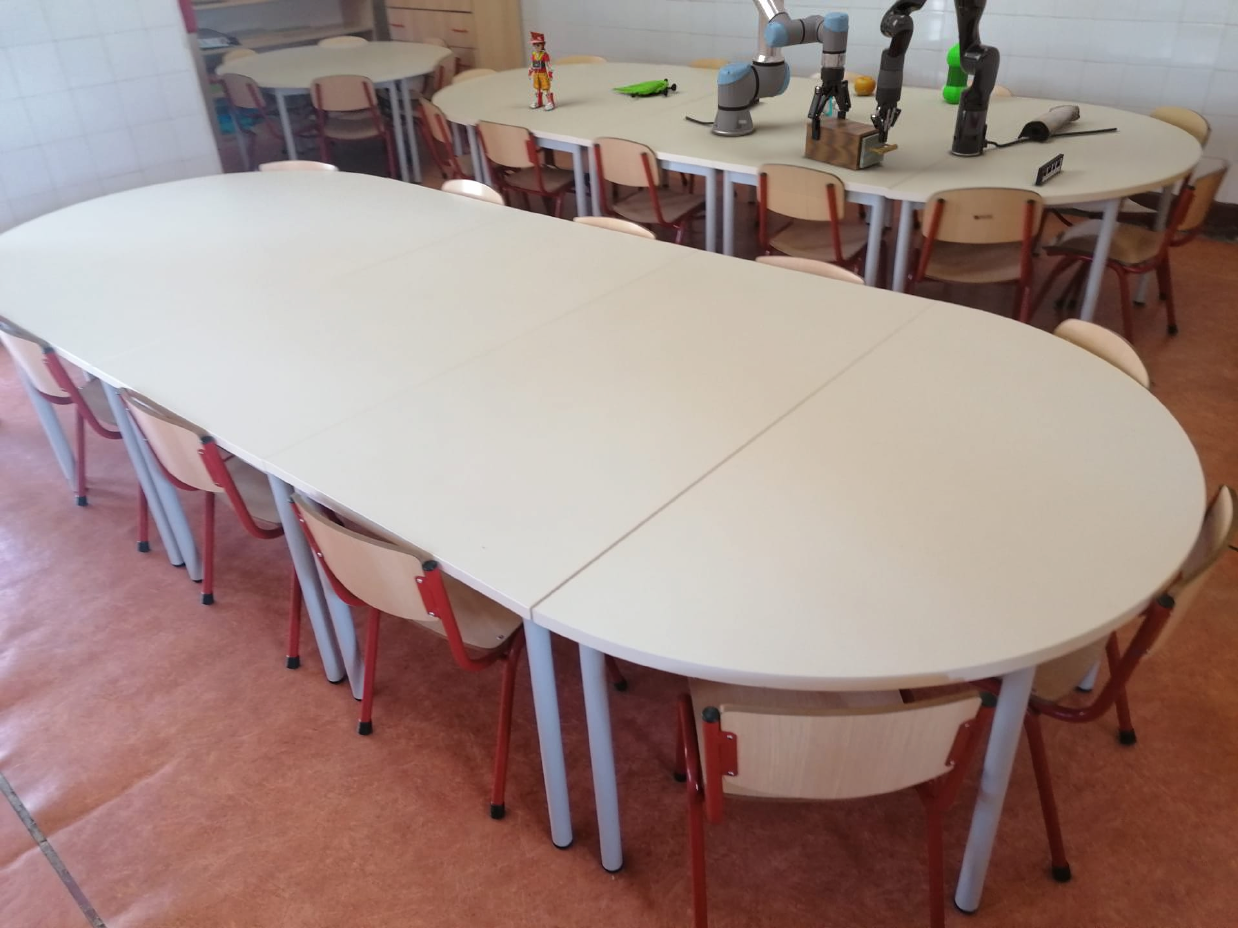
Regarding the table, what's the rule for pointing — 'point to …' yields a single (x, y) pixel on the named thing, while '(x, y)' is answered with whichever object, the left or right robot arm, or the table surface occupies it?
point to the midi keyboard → (1049, 169)
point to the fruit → (864, 85)
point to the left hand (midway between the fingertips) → (827, 135)
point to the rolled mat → (1049, 122)
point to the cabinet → (837, 141)
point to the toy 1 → (541, 71)
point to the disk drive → (753, 102)
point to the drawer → (873, 150)
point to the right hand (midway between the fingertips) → (882, 142)
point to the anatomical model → (831, 109)
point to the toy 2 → (648, 88)
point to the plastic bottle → (954, 76)
